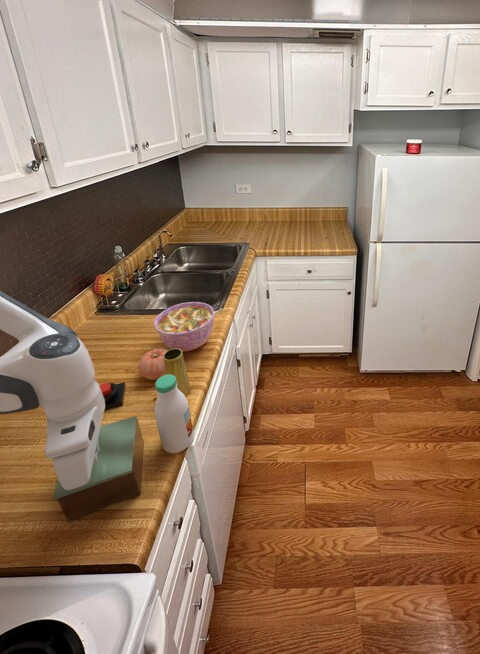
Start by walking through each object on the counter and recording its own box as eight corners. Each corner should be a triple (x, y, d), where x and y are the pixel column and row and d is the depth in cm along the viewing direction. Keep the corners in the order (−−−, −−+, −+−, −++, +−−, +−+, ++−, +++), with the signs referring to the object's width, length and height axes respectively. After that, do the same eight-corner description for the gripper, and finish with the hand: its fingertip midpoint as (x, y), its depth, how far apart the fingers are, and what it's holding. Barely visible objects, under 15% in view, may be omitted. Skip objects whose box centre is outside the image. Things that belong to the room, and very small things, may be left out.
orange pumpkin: (139, 389, 101) (133, 369, 98) (142, 366, 110) (137, 347, 107) (177, 380, 105) (173, 360, 102) (177, 358, 114) (173, 339, 111)
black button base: (86, 415, 92) (83, 406, 91) (92, 395, 99) (89, 386, 98) (122, 405, 96) (120, 396, 94) (125, 386, 103) (123, 377, 101)
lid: (132, 472, 69) (131, 470, 69) (53, 500, 64) (52, 497, 64) (137, 417, 82) (136, 415, 81) (71, 437, 77) (70, 434, 76)
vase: (180, 381, 104) (173, 344, 99) (195, 388, 102) (188, 350, 96) (164, 395, 99) (156, 357, 94) (179, 402, 97) (171, 364, 91)
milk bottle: (184, 457, 81) (171, 395, 74) (155, 451, 83) (140, 391, 75) (199, 429, 88) (189, 371, 81) (173, 425, 90) (160, 367, 82)
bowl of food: (189, 322, 134) (184, 297, 129) (228, 335, 126) (225, 309, 122) (147, 352, 117) (140, 324, 113) (190, 369, 109) (184, 340, 105)
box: (140, 494, 73) (132, 468, 70) (67, 522, 68) (55, 495, 65) (144, 442, 85) (137, 417, 82) (81, 462, 80) (71, 437, 77)
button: (96, 398, 94) (94, 393, 93) (98, 389, 97) (97, 385, 97) (110, 394, 95) (109, 390, 95) (112, 385, 98) (111, 381, 98)
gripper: (71, 377, 72) (86, 423, 78) (40, 462, 55) (63, 514, 60) (104, 369, 75) (117, 414, 80) (85, 448, 57) (103, 499, 62)
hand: (94, 458), depth 70 cm, fingers closed
